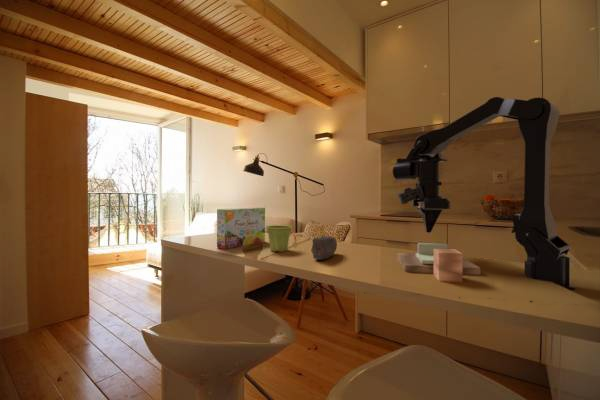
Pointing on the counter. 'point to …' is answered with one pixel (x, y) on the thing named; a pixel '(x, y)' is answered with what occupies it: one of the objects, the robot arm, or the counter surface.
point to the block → (448, 265)
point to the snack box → (240, 227)
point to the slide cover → (428, 252)
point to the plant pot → (279, 237)
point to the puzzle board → (431, 265)
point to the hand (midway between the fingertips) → (428, 232)
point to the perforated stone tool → (323, 247)
